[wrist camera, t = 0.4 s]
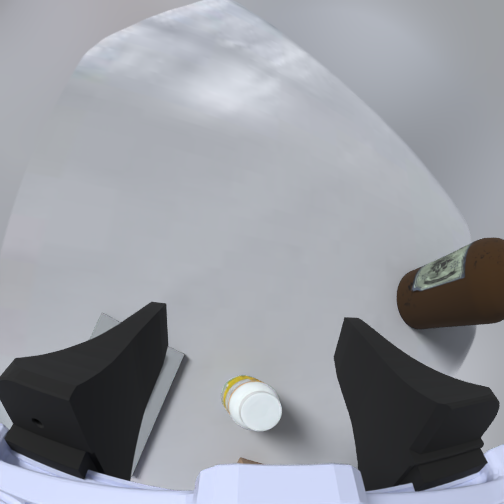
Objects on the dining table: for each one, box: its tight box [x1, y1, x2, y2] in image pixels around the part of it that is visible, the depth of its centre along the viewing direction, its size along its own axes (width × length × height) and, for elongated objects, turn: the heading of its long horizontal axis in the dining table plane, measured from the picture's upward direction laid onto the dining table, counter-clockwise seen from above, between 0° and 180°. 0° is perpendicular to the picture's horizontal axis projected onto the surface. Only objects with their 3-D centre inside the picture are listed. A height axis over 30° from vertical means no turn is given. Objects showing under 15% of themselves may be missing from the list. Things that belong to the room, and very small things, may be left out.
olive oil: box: [397, 238, 504, 329], centre depth 33 cm, size 11×11×25 cm
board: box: [90, 313, 184, 477], centre depth 32 cm, size 18×11×2 cm, turn 157°
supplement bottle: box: [221, 375, 282, 431], centre depth 32 cm, size 5×5×10 cm
